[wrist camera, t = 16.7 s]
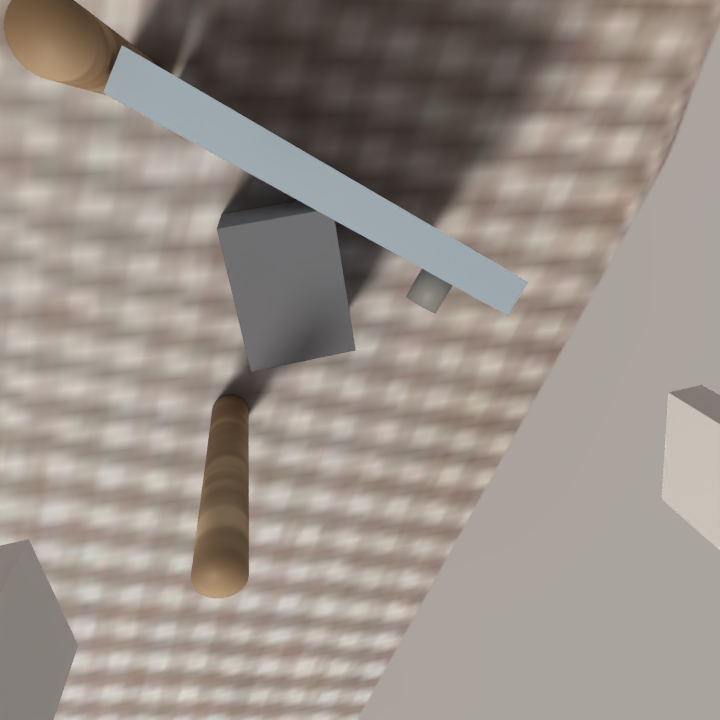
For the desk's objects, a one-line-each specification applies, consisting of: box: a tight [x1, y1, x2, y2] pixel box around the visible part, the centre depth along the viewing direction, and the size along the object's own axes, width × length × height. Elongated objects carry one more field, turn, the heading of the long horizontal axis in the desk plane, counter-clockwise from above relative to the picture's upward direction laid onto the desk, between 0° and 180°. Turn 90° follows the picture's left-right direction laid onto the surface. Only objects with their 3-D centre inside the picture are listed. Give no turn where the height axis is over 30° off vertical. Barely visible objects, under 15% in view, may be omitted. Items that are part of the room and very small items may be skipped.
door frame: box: [4, 0, 249, 598], centre depth 28 cm, size 23×2×16 cm, turn 9°
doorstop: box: [217, 201, 355, 372], centre depth 34 cm, size 8×6×6 cm
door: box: [103, 46, 528, 315], centre depth 28 cm, size 17×4×14 cm, turn 61°
